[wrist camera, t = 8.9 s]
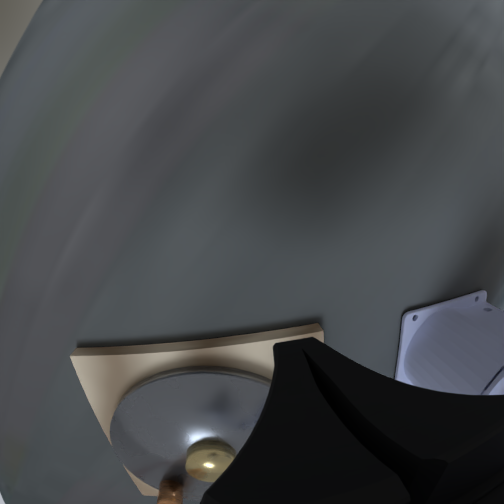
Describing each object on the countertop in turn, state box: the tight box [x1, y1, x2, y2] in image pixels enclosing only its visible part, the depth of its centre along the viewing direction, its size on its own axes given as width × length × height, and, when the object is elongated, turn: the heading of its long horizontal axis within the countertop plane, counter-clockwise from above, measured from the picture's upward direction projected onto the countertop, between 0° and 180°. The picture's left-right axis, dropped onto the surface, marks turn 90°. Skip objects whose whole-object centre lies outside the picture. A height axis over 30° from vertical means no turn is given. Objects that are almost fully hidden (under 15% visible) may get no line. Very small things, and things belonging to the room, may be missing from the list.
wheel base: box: [70, 323, 324, 496], centre depth 20 cm, size 17×17×1 cm
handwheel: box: [110, 366, 272, 504], centre depth 17 cm, size 15×15×5 cm
